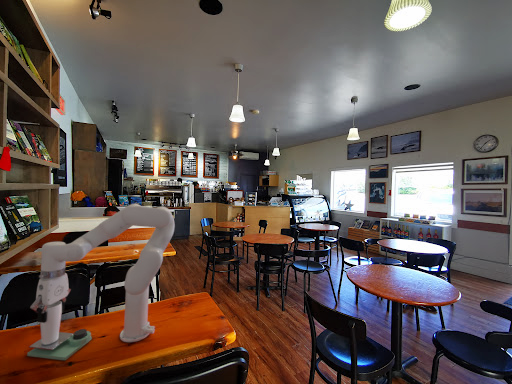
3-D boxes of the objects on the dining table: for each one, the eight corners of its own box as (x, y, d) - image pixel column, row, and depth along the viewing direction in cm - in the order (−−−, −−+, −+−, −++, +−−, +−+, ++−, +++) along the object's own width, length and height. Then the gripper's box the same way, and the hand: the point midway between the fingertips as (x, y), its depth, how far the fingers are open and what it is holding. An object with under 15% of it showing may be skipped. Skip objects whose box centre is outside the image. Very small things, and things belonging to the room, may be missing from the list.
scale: (94, 338, 103) (94, 331, 103) (66, 360, 90) (67, 353, 90) (59, 334, 105) (59, 327, 105) (27, 356, 91) (27, 348, 91)
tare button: (88, 334, 102) (89, 329, 102) (80, 340, 97) (80, 335, 97) (79, 333, 102) (79, 328, 102) (70, 339, 98) (70, 334, 98)
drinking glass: (40, 349, 90) (42, 310, 90) (36, 341, 94) (38, 304, 94) (63, 340, 96) (64, 304, 96) (58, 333, 100) (59, 298, 100)
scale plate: (74, 334, 101) (74, 333, 101) (52, 350, 91) (52, 349, 91) (53, 332, 101) (53, 331, 101) (28, 347, 92) (28, 346, 92)
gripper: (40, 282, 86) (38, 330, 86) (79, 266, 103) (78, 307, 103) (21, 280, 86) (19, 328, 87) (64, 265, 104) (62, 305, 104)
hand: (51, 316), depth 95 cm, fingers open, 7 cm apart
